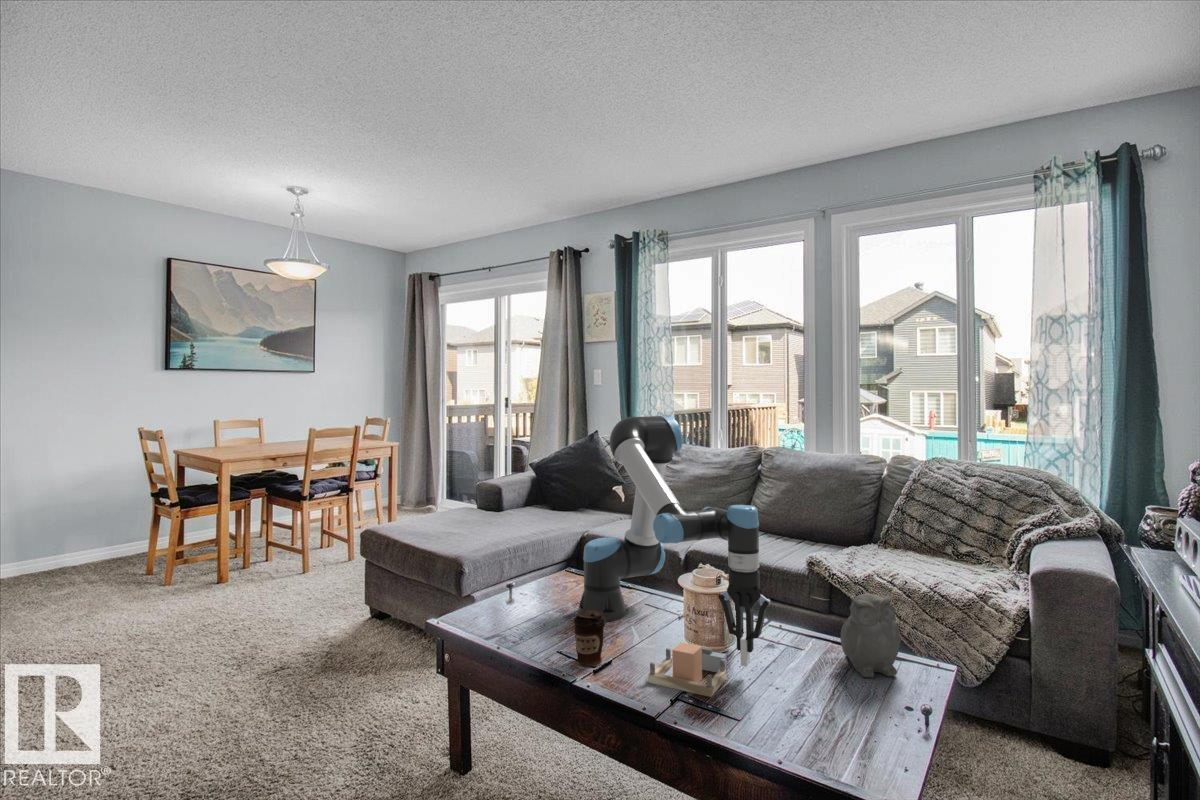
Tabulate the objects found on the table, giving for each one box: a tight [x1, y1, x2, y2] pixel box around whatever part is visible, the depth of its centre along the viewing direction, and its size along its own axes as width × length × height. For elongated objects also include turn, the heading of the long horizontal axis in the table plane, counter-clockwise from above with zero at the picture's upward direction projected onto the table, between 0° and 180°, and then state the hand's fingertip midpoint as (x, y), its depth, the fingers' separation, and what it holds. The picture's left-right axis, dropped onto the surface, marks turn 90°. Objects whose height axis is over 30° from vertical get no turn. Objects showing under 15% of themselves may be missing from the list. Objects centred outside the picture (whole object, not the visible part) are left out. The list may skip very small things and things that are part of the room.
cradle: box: [647, 648, 728, 698], centre depth 149 cm, size 12×16×4 cm
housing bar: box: [702, 646, 728, 674], centre depth 156 cm, size 2×10×5 cm, turn 61°
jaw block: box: [671, 641, 703, 683], centre depth 149 cm, size 6×6×8 cm
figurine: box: [839, 592, 902, 678], centre depth 156 cm, size 14×16×20 cm
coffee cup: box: [573, 610, 606, 667], centre depth 160 cm, size 9×8×13 cm
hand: (745, 664), depth 150 cm, fingers closed
